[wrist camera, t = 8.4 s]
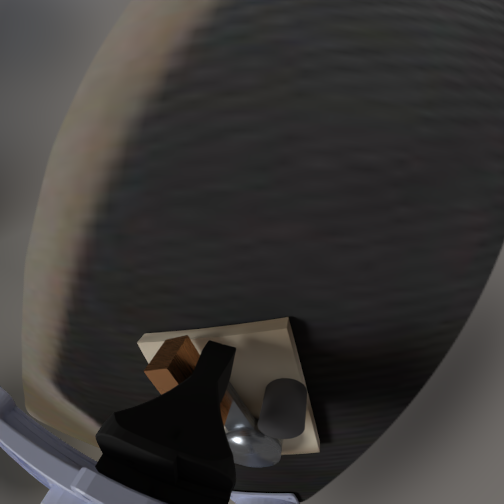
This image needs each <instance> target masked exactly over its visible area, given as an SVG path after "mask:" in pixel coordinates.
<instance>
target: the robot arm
mask: <svg viewBox="0 0 504 504" xmlns="http://www.w3.org/2000/svg"><path fill="white" fill-rule="evenodd" d="M235 353H236V347H232V346H228V345H225V344H223V345H222V344H221V343H218V342H214V341H211V340H209V341H208V342H207V344H206V345H205V347H204V348H203V350H202V352H201V354H200V357H199V359H198V361H197V364H196V366H195V369H194V371H193V373H192V375H191V376H190V377H188V378H187V379H186V380H184V381H183V382H182V383H180V384H179V385H177V386H176V387H174V388H172V389H171V390H169V391H167V392H166V393H164V394H162V395H160V396H158V397H156V398H154V399H152V400H150V401H147V402H145V403H142V404H140V405H137V406H135V407H132V408H128V409H125V410H122V411H118V412H114V413H113V414H112V415H111V416H110V417H109V418H108V419H107V420H106V421H105V422H104V424H103V425H102V427H101V428H100V430H99V431H98V433H97V434H96V440H97V443H98V445H99V447H100V449H101V451H102V453H103V454H102V456H101V458H100V459H99V461H98V462H97V461H95V460H93V459H91V458H90V457H88V456H86V455H84V454H83V453H81V452H80V451H78V450H76V449H75V448H73V447H72V446H70V445H68V444H67V443H65V442H64V441H62V440H61V439H59V438H58V437H56V436H55V435H53V434H52V433H51V432H49V431H48V430H47V429H45V428H44V427H42V426H41V425H40V424H38V423H37V422H36V421H34V420H33V419H32V418H31V417H29V416H28V415H27V414H26V413H24V412H23V411H22V410H21V409H20V408H18V407H17V406H16V404H15V402H14V400H13V399H12V397H11V396H10V395H9V394H8V393H7V392H6V391H5V390H4V389H3V388H2V387H1V386H0V447H1V448H2V449H3V450H5V452H7V453H8V454H9V455H10V456H11V457H12V458H13V459H14V460H15V461H16V462H17V463H18V464H20V465H21V466H22V467H23V468H24V469H25V470H26V471H28V472H29V473H30V474H31V475H32V476H34V477H35V478H36V479H37V480H38V481H40V482H41V483H42V484H44V485H45V486H46V487H47V488H49V489H50V490H49V492H48V493H47V494H46V496H45V497H44V499H43V501H42V502H41V504H228V502H229V499H231V500H232V501H234V502H235V503H236V504H300V503H299V501H298V500H297V498H296V496H295V494H293V493H253V492H238V491H232V490H233V488H234V486H235V483H236V472H235V465H234V458H233V453H232V451H231V448H230V445H229V442H228V439H227V436H226V433H225V429H224V425H223V420H222V416H221V410H220V403H221V401H222V399H223V397H224V395H225V392H226V389H227V386H228V383H229V380H230V377H231V372H232V367H233V362H234V357H235Z"/></svg>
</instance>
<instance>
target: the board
mask: <svg viewBox="0 0 504 504" xmlns="http://www.w3.org/2000/svg"><path fill="white" fill-rule="evenodd" d="M185 335H188V336H189V338H190V340H191V341H192V343H193V344H194V346H195V348H196V349H197V351H198V353H199V354H201V352H202V350H203V348H204V347H205V345H206V344H207V342H208V341H209V340H211V341H214V342H218V343H221V344H222V345H223V344H225V345H228V346H232V347H236V353H235V357H234V362H233V367H232V372H231V377H230V380H229V381H230V383H231V384H232V386H233V387H234V389H235V390H236V392H237V393H238V395H239V396H240V398H241V399H242V401H243V402H244V404H245V405H246V407H247V408H248V410H249V411H250V413H251V414H252V416H253V417H254V418H259V416H260V412H261V407H262V403H263V398H264V393H265V389H266V386H267V385H268V384H269V383H270V382H271V381H273V380H276V379H280V378H290V379H294V380H297V381H299V382H301V383H302V384H304V386H305V387H306V383H305V379H304V375H303V371H302V367H301V364H300V360H299V356H298V352H297V348H296V344H295V340H294V337H293V333H292V329H291V325H290V321H289V318H288V317H285V318H279V319H272V320H266V321H259V322H251V323H244V324H236V325H228V326H220V327H211V328H202V329H193V330H182V331H171V332H159V333H146V334H144V335H143V336H142V337H141V339H140V340H139V341H138V342H137V343H138V345H139V347H140V349H141V351H142V353H143V354H144V356H145V358H146V360H147V361H148V363H150V361H151V360H152V359H153V357H154V356H155V354H156V353H157V351H158V350H159V349H160V347H161V346H162V344H163V343H164V341H165V340H166V339H171V338H176V337H181V336H185ZM306 389H307V387H306ZM224 429H225V426H224ZM315 452H320V440H319V436H318V432H317V428H316V423H315V419H314V415H313V411H312V407H311V403H310V399H309V395H308V391H307V404H306V419H305V430H304V432H303V433H302V434H301V435H299V436H297V437H295V438H291V439H283V445H282V452H281V455H283V454H302V453H315Z"/></svg>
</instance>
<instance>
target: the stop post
mask: <svg viewBox="0 0 504 504" xmlns="http://www.w3.org/2000/svg"><path fill="white" fill-rule="evenodd" d="M306 404H307V389H306V387H305V386H304V384H302V383H301V382H299V381H297V380H294V379H290V378H280V379H276V380H273V381H271V382H270V383H269V384H268V385H267V386H266V389H265V393H264V398H263V403H262V407H261V412H260V416H259V421H258V428H259V430H260V431H261V432H262V433H263V434H265V435H267V436H269V437H272V438H276V439H291V438H295V437H297V436H299V435H301V434H302V433H303V432H304V430H305V419H306Z"/></svg>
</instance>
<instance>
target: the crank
mask: <svg viewBox="0 0 504 504" xmlns="http://www.w3.org/2000/svg"><path fill="white" fill-rule="evenodd" d="M199 357H200V354H199V353H198V351H197V349H196V348H195V346H194V344H193V343H192V341H191V340H190V338H189V336H188V335H185V336H181V337H176V338H171V339H166V340H165V341H164V343H163V344H162V346H161V347H160V349H159V350H158V351H157V353H156V354H155V356H154V357H153V359H152V360H151V361H150V363H149V364H148V366H147V367H146V369H145V370H144V372H145V374H146V375H147V376H148V378H149V379H150V380H151V382H152V383H153V384H154V386H155V387H156V388H157V390H158V391H159V392H160V393H161V395H162V394H164V393H166V392H167V391H169V390H171V389H172V388H174V387H176V386H177V385H179V384H180V383H182V382H183V381H184V380H186V379H187V378H188V377H190V376H191V375H192V373H193V371H194V369H195V366H196V364H197V361H198V359H199ZM220 410H221V416H222V420H223V425H224V426H225V433H226V436H227V439H228V442H229V445H230V448H231V451H232V453H233V458H234V463H237V464H240V465H244V466H249V467H268V466H272V465H274V464H276V463H278V462H279V460H280V458H281V452H282V445H283V439H276V438H272V437H269V436H267V435H265V434H263V433H262V432H261V431H260V430H259V428H258V421H259V418H254V417H253V416H252V414H251V413H250V411H249V410H248V408H247V407H246V405H245V404H244V402H243V401H242V399H241V398H240V396H239V395H238V393H237V392H236V390H235V389H234V387H233V386H232V384H231V383H230V381H229V383H228V386H227V389H226V392H225V395H224V397H223V399H222V401H221V403H220Z"/></svg>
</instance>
